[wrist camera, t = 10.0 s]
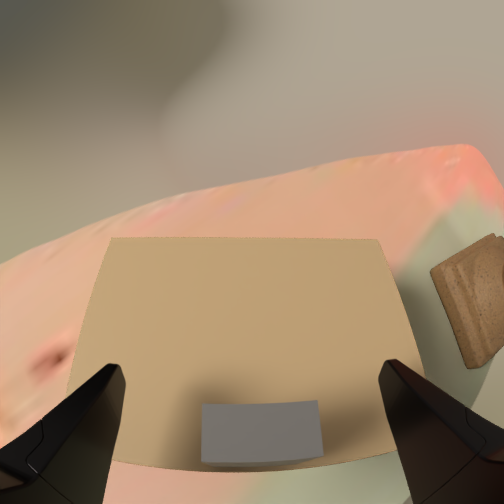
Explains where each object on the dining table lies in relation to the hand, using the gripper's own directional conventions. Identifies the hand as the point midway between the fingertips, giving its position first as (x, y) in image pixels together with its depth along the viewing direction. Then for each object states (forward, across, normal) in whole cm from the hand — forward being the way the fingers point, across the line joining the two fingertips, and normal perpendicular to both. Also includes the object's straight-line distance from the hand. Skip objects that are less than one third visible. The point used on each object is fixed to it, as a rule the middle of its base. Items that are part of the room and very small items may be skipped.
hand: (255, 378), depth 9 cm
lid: (+4, 0, +2) cm, 4 cm away
